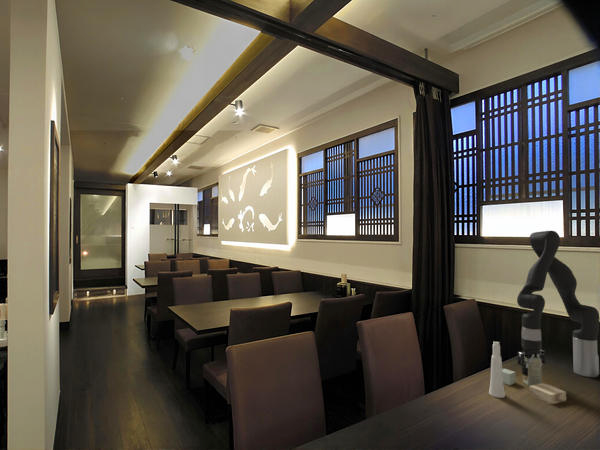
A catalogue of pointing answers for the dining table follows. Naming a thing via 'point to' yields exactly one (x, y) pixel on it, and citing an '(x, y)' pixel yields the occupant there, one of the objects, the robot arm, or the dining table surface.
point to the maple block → (547, 393)
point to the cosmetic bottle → (496, 373)
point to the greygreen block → (508, 376)
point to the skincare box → (533, 372)
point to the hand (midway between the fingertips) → (531, 374)
